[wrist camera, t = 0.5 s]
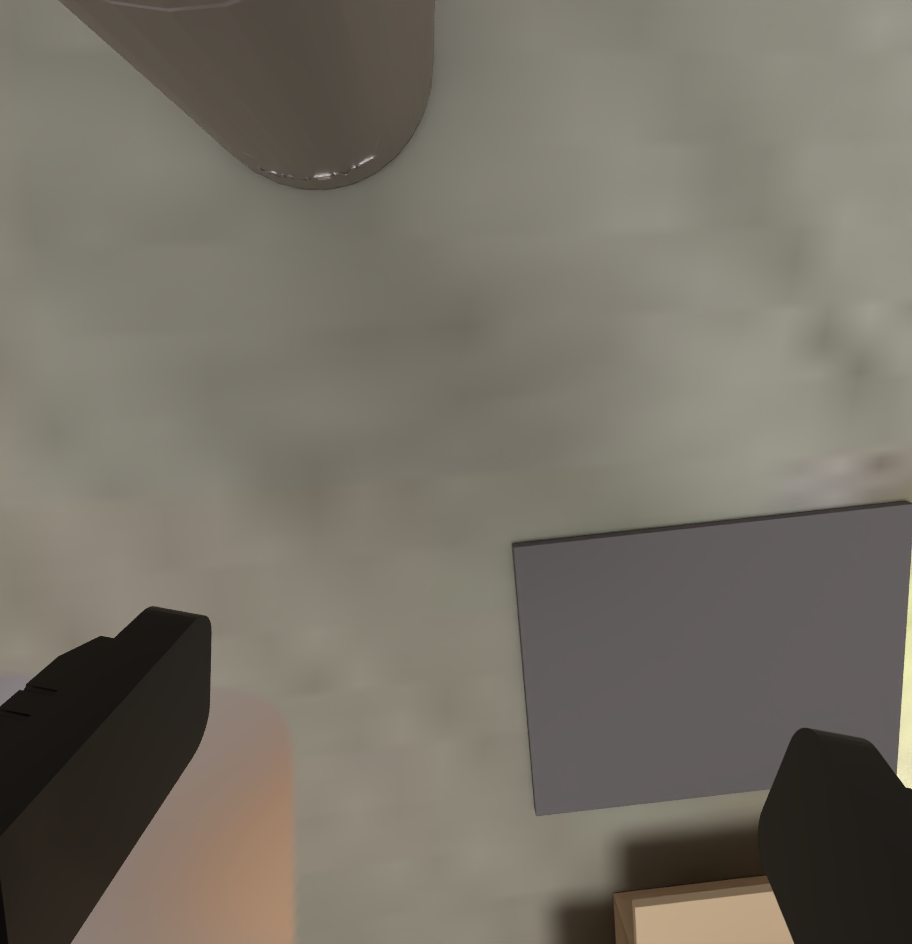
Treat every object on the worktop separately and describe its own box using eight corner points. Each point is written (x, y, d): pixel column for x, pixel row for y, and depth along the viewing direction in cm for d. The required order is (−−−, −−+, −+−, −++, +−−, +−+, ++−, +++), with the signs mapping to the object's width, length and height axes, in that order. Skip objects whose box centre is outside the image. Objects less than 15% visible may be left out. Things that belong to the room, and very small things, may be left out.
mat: (512, 543, 28) (513, 547, 28) (906, 500, 28) (914, 504, 28) (534, 808, 31) (536, 816, 31) (889, 767, 32) (896, 774, 31)
